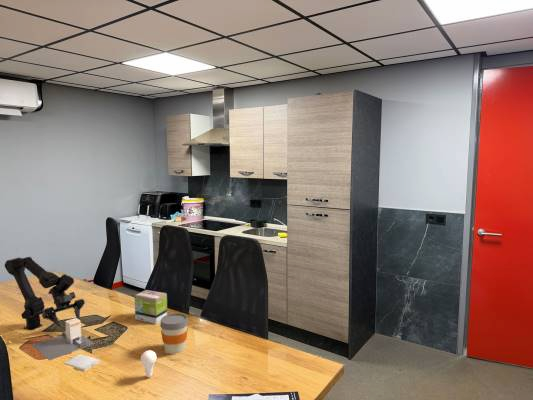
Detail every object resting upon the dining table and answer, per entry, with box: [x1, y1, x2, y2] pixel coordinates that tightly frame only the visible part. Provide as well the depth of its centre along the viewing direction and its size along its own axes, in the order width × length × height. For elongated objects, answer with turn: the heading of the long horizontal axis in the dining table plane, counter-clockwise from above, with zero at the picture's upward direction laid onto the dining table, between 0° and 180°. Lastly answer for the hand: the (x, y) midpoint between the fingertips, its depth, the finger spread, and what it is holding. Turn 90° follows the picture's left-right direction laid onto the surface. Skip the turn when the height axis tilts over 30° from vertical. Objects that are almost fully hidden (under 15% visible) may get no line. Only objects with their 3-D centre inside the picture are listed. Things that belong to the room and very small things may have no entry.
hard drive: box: [63, 354, 101, 372], centre depth 161 cm, size 2×8×12 cm
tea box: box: [134, 289, 168, 325], centre depth 207 cm, size 15×10×15 cm, turn 68°
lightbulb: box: [140, 350, 158, 378], centre depth 150 cm, size 6×6×11 cm
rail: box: [61, 330, 86, 348], centre depth 181 cm, size 20×3×2 cm, turn 50°
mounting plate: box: [31, 334, 95, 361], centre depth 177 cm, size 22×20×1 cm
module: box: [65, 317, 82, 344], centre depth 180 cm, size 5×5×10 cm
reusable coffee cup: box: [160, 313, 189, 355], centre depth 172 cm, size 12×13×15 cm
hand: (69, 323), depth 182 cm, fingers open, 9 cm apart
